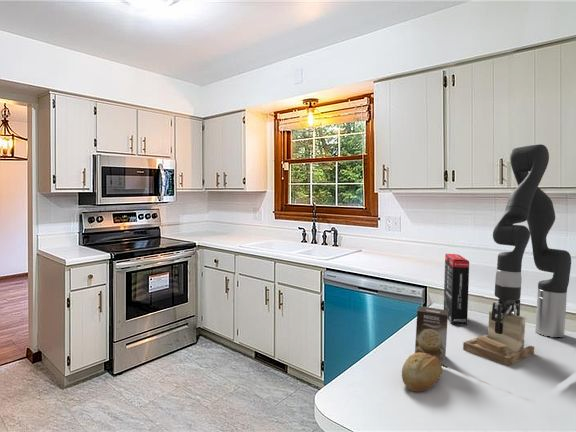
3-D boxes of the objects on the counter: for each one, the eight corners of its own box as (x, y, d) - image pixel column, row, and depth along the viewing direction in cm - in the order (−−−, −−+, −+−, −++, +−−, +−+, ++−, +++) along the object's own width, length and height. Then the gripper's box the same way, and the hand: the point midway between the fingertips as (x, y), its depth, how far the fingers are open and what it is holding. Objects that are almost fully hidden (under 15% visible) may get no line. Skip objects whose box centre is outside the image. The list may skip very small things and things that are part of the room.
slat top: (484, 342, 125) (484, 336, 125) (506, 351, 118) (507, 345, 118) (477, 343, 124) (477, 337, 124) (498, 353, 116) (499, 347, 116)
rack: (489, 342, 135) (490, 333, 134) (533, 357, 123) (534, 346, 123) (462, 352, 125) (463, 342, 125) (508, 369, 113) (508, 358, 113)
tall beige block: (492, 346, 132) (494, 309, 131) (523, 356, 123) (525, 317, 123) (487, 348, 130) (489, 311, 129) (518, 358, 121) (520, 319, 121)
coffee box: (413, 360, 117) (415, 310, 117) (415, 353, 123) (417, 305, 123) (445, 367, 114) (447, 315, 113) (446, 359, 119) (448, 309, 119)
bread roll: (447, 378, 106) (448, 350, 106) (432, 400, 94) (433, 369, 94) (413, 368, 112) (414, 342, 112) (395, 387, 100) (396, 358, 100)
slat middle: (479, 348, 126) (480, 342, 125) (507, 357, 118) (508, 351, 118) (473, 350, 123) (473, 344, 123) (501, 360, 116) (501, 354, 116)
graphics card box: (468, 326, 152) (471, 259, 151) (450, 324, 153) (453, 258, 152) (457, 314, 169) (460, 254, 167) (441, 312, 170) (444, 253, 169)
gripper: (506, 279, 133) (504, 324, 133) (485, 283, 125) (482, 331, 125) (530, 284, 126) (526, 331, 127) (509, 288, 118) (506, 338, 119)
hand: (505, 331), depth 126 cm, fingers open, 8 cm apart
